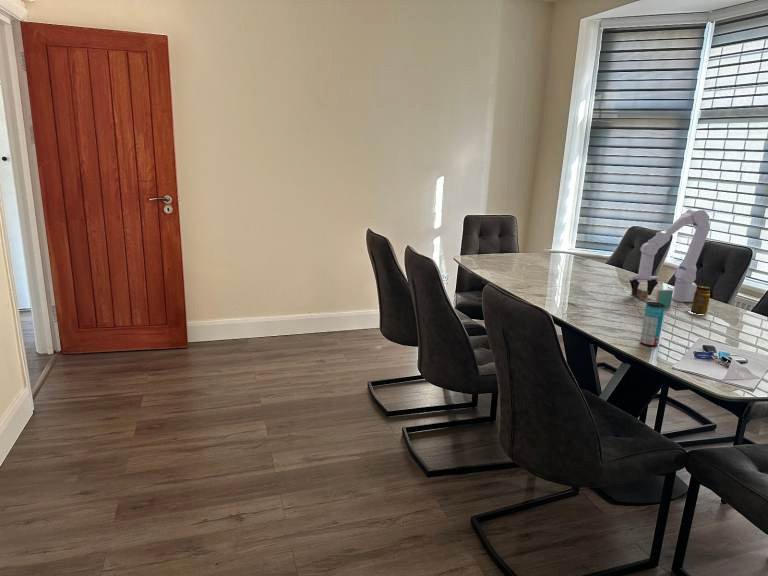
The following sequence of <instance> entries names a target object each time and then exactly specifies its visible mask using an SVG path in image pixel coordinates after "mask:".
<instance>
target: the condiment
mask: <svg viewBox="0 0 768 576" xmlns="http://www.w3.org/2000/svg"><path fill="white" fill-rule="evenodd" d="M710 292H711V287H709V286H706V285H697V289H696V292H695V293H694V298H693V302H691V303H692V304H691V312H693V313H696V314H706V313H708V309H709V303H710V298H711V294H710ZM688 311H689V310H686V311H684V313H687V312H688ZM696 314H695V315H694V316H697V315H696Z"/></svg>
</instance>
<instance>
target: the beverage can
mask: <svg viewBox="0 0 768 576" xmlns="http://www.w3.org/2000/svg"><path fill="white" fill-rule="evenodd" d="M645 303H646V304H645V305H646V306H645V310H644V317H643V321H642V322H643V323H642V328H641V335H640V340H639V342H640V344H641V345H643V346H645V347H652V348H653V347H658V346H659V343H660V336H661V331H662V327H663V326H662V325H663V320H664V315H665V308H666V307H665V305H664V304H661V303H655V302H645Z"/></svg>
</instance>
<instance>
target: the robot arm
mask: <svg viewBox="0 0 768 576" xmlns="http://www.w3.org/2000/svg"><path fill="white" fill-rule="evenodd" d="M687 225H689V226H690V225H692V226H693V228H694V230H695V231H694V234H693V237H692V239H691V242H690V244H689V247H688V249H687V252H686V254H685V257H684V259H683V261H682V262H681V263H680V264H679V265H678V267H677V268H676V269H675V270H674V277H675V282H674V288H673V294H672V300H673V301H676V302H678V303H693V298H694V293H695V292H696V289H697V286H698V285H697V284H696V283H695V282H694V281H696V279H697V271H698V269H697V266H696V265H697V262H698V260H699V259H700V258H699V257H700V255H701V252H702V250H703V248H704V245H705V243H706V240H707V236H708V235H709V233H710V227H711V226H710V215H709V214H708V213H707V212H706V210H704V209H697V208H688V209H687V210H686V211H685V212H683V213H682V214H681V215H680V217H679V218H678V219H676V220H675V221H674V222H673V223H672V224H671V225H670V226H669V227H667V229H666V230H664V231H659V232H658V231H657V232H656V233H655V236H653V237H652V238H651V239H648V240H647V242H645V243H643V244H642V245H641V247H639V250H640V252H641V253H640V254H641V256H640V261H639V267H638V274H637V275H629V278H628V280H629V283H630V287H631V295H632V294H633V295H632V296H634V295H636V294H637V289H638V288H639V286H640V284H641V282H639V281H647V282H646V283H647V286H646V287H647V288H646V289H647V290H646V291H648V296H651V295H652V293H653V291H654V289H655V287H656V286H657V285H658V283H659V282H658V281H660V280H659V279H660V277H659V276H657V275H652V272H653V267H654V262H655V261H654V260H655V255H656V254H657V253H658V250H659V249H660V248H662V247H663V246H664V245H665V244H667V243H668V242H669V241H670V238H671V236H672V235H674V234H676V233H677V231H679V230H681V229H682V228H683V227H684V226H687Z"/></svg>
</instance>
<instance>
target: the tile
mask: <svg viewBox="0 0 768 576" xmlns="http://www.w3.org/2000/svg"><path fill="white" fill-rule="evenodd" d="M673 292H674V289H673V290H672V289H657V291H656V296H655V300H656V301H655V303H661V304H664V305H665V308H671V305H672V300H673V299H672V297H673Z"/></svg>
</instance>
